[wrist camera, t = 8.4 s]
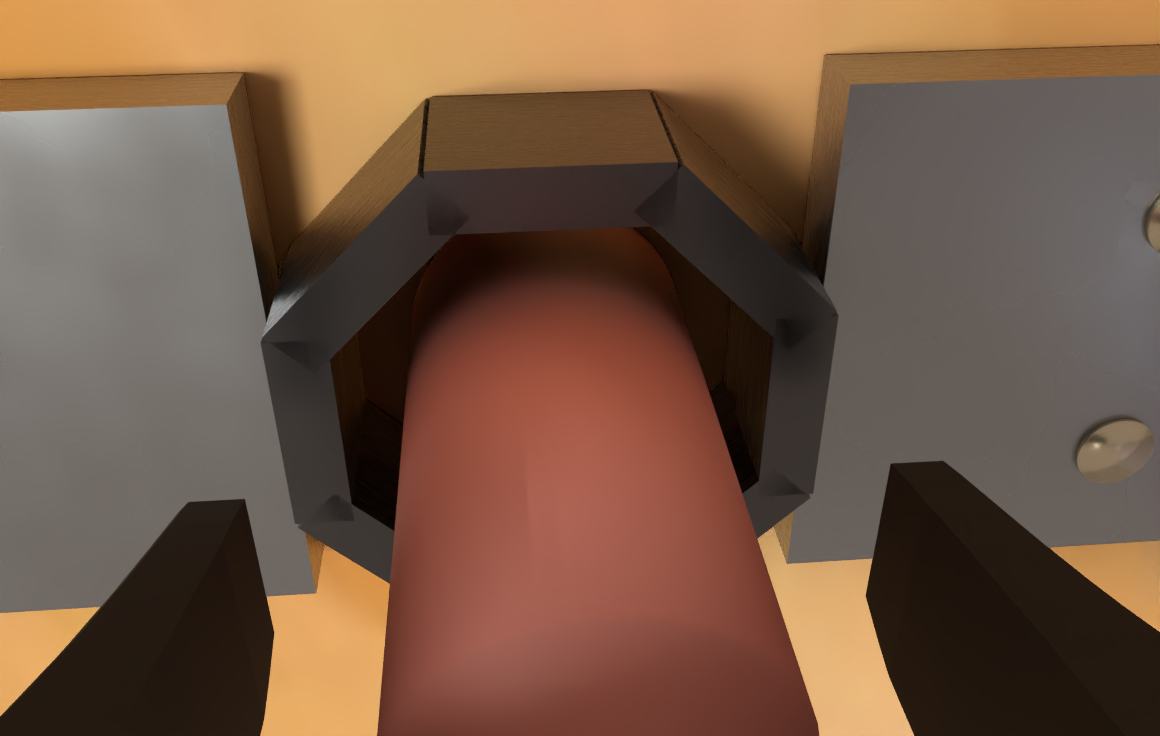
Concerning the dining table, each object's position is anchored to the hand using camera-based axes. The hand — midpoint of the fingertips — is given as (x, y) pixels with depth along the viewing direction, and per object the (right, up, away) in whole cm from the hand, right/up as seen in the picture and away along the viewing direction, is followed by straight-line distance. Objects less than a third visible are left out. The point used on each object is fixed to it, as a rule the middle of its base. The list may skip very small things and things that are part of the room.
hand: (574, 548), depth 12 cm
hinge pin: (0, +3, +4) cm, 5 cm away
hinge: (0, +3, +4) cm, 5 cm away
